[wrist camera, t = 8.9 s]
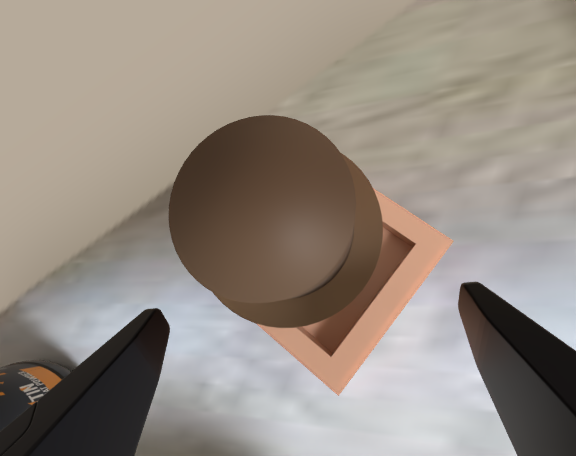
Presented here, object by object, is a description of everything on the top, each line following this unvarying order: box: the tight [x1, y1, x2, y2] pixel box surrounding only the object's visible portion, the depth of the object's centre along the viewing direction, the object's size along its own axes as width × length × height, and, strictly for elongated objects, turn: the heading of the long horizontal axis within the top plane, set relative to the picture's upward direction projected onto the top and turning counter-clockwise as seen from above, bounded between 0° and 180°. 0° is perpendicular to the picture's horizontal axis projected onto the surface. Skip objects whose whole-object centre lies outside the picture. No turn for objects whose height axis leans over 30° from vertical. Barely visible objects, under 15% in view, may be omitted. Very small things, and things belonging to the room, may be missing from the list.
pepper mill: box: [169, 115, 383, 328], centre depth 12 cm, size 5×5×12 cm
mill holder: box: [257, 188, 453, 396], centre depth 19 cm, size 10×10×4 cm
